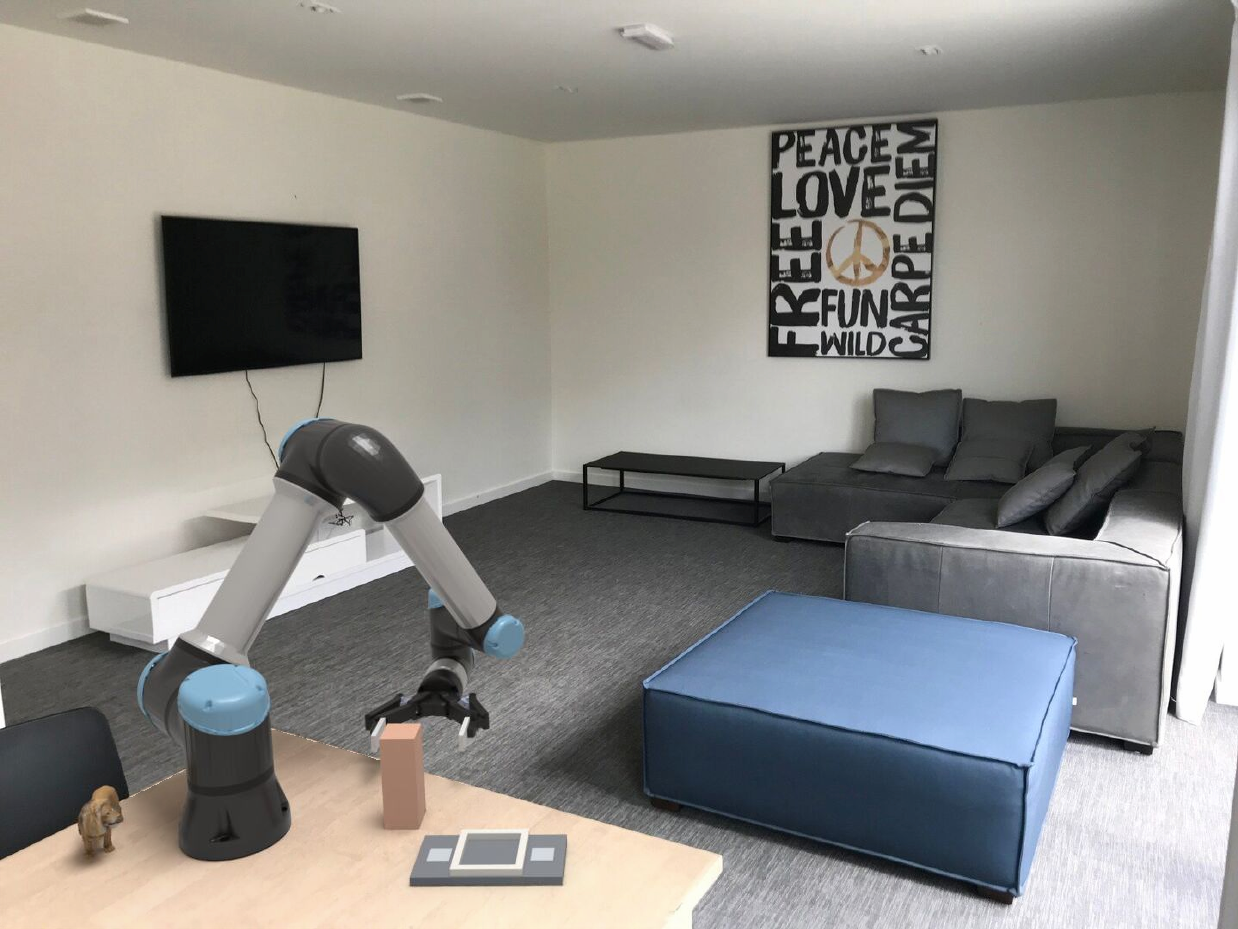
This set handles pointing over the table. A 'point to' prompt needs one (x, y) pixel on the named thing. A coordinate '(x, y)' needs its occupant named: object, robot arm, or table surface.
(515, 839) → the base board
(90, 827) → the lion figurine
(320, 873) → the table surface
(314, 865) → the table surface
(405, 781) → the terracotta pillar
